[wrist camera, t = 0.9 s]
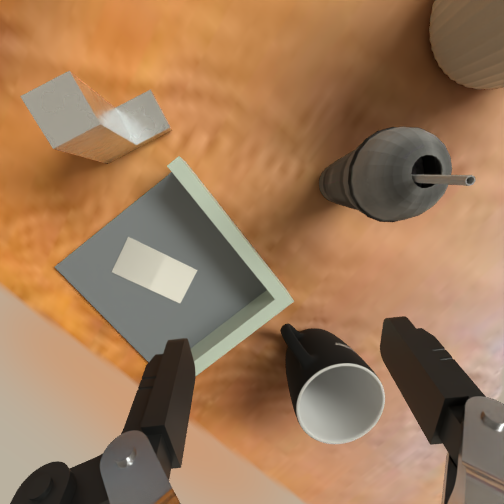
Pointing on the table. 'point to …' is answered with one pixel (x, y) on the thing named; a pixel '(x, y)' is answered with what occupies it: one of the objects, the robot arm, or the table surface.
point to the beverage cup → (392, 175)
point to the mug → (330, 386)
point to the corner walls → (275, 293)
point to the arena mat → (162, 271)
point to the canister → (469, 41)
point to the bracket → (93, 119)
